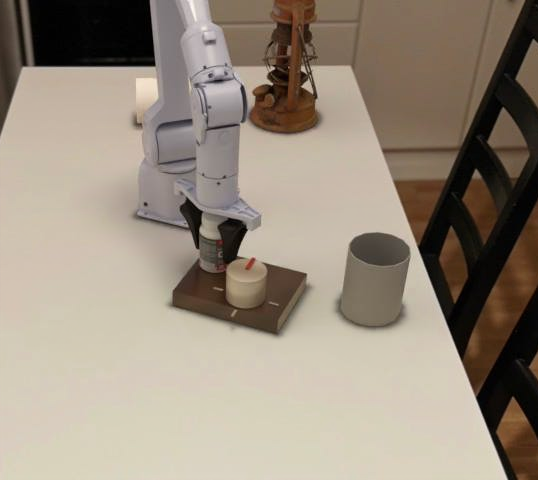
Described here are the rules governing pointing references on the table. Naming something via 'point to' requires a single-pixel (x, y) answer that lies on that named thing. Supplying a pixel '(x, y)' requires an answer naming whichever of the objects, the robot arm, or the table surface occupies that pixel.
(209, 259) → the pill bottle
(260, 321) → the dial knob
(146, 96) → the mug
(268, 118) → the lantern
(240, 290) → the rotary knob
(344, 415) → the table surface
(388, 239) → the cup
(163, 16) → the robot arm
